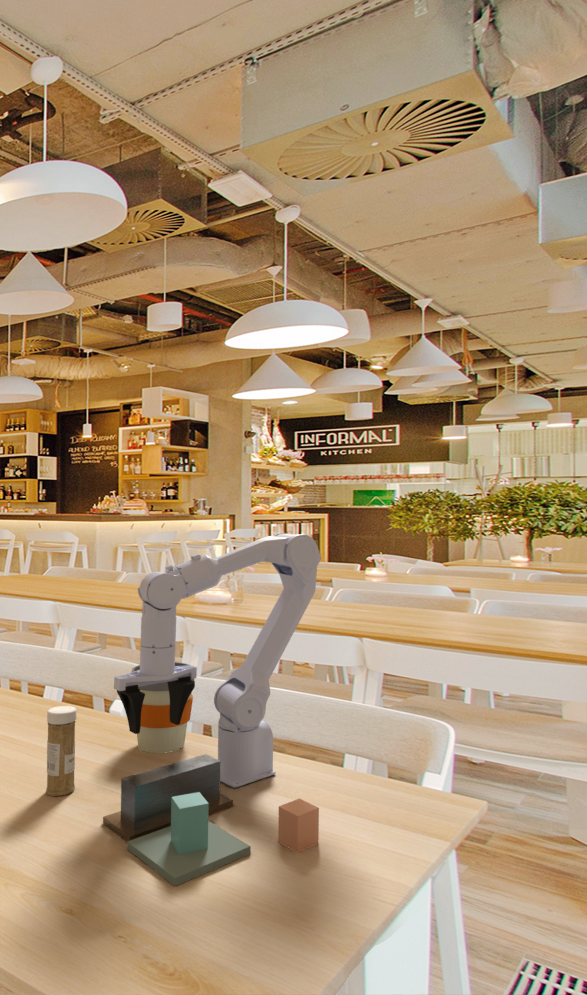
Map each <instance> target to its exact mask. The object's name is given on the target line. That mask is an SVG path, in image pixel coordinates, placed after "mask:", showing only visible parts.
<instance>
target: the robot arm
mask: <svg viewBox="0 0 587 995" xmlns="http://www.w3.org/2000/svg"><path fill="white" fill-rule="evenodd" d="M321 560H322V556H321V554H320V550H319V547H318V545H317V542H316V541H315V539H314V538H313V537H312V536H310V535H309V534H308V535H307V534H291V533H289V534H288V533H286V532H278V533H276V534H274V535H269V536H264V537H261V538H259V539H257V540H254V541H252V542H249V543H248V544H247V543H246V544H245V545H243V546H241V547H238V548H236V549H233V550H231V551H229V552H226V553H224V554H222V555H220V556H218V557H211V556H210V555H207V554H202V555H201V554H199V553H195V554H193V555H190V559H189V560H186V561H185V562H182V563H179V564H177V565H174V566H173V565H171V564H168V565H165V567H164V569H165V571H164V572H162V571H152V572H150V573H147V574H146V575H145V576H144V578H142V580H141V582H140V584H139V587H138V588H137V594H138V597H139V598H140V599H141V601H142V606H141V609H142V610H141V617H140V618H141V620H140V623H141V624H140V644H139V646H140V648H139V649H140V651H139V652H140V653H139V665H140V670H139V671H135V672H132V671H131V672H128V673H125V674H121V675H117V676H114V678H113V679H114V680H113V683H114V684H113V689H114V690H116V694H117V695H118V697H119V699H120V700H121V702H122V706H123V708H124V711H125V714H126V718H127V722H128V727H129V732H131V733H133V734H135V735H137V734H138V733H140V727H141V710H142V705H143V700H144V697H145V693H143V692H140V689H138V687H140V686H146V685H152V684H157V683H163V682H167V683H168V689H169V697H170V714H169V716H170V722H171V723H173V724H176V725H179V724H180V721H181V717H182V714H183V711H184V708H185V705H186V702H187V700H188V698H189V696H190V694H191V692H193V690H195V687H196V684H195V683H196V681H195V679H197V670H198V667H197V666H195V665H192V664H189V665H186V666H175V662H176V643H177V642H176V641H177V640H176V639H177V638H176V637H177V606H178V604H179V603H180V602H181V600H183V599H187V598H189V597H192V596H195V595H196V594H199V593H202V592H204V591H206V590H208V589H212V588H213V587H214V588H215V587H216V586H217V585H218V584H219V582H220V580H221V578H222V576H224V575H228V574H230V573H233V572H236V571H239V570H242V569H244V568H247V567H250V566H254V565H256V564H259V563H261V562H262V563H263V562H265V563H271V565H272V566H273V568H274V570H276V571H277V573H278V575H279V577H280V580H281V584H282V587H283V590H282V591H281V593H280V594H279V597H278V598H277V600H276V602H275V604H274V606H273V607H272V609H271V611H270V613H269V615H268V617H267V619H266V620H265V623H264V625H263V626H262V628H261V630H260V632H259V633H258V635H257V637H256V639H255V641H254V643H253V645H252V646H251V648H250V650H249V652H248V654H247V656H246V657H245V660H244V661H243V663H242V665H240V666H239V667H237V668H236V669H235V670H233V671H232V672H231V673H230V675H229V676H228V678H227V679H226V680H225V681H224V682H223V683H221V684H220V685H219V686H218V687H217V689H216V691H215V693H214V697H213V705H214V708H215V709H216V711H217V713H219V718H218V726H217V727H218V729H217V731H218V732H217V760H219V761H220V783H223V784H225V785H227V786H229V787H230V788H234V789H235V788H238V787H242V786H244V785H248V784H251V783H253V782H256V781H259V780H262V779H266V778H268V777H271V776H273V775H276V770H274V769H273V768H274V734H273V731H272V728H271V726H270V724H269V723H268V722H267V721H265V720H264V718H265V716H266V709H267V702H268V699H269V697H270V696H271V687H270V678H271V676H272V674H273V673H274V671H275V669H276V667H277V665H278V664H279V661H280V659H281V657H282V656H283V654H284V652H285V650H286V648H287V646H288V644H289V642H290V641H291V638H292V636H293V635H294V633H295V631H296V629H297V627H298V625H299V623H300V622H301V621H302V620H301V619H302V618H303V617H304V614H305V612H306V610H307V609H308V607H309V605H310V602H311V600H312V599H313V597H314V595H315V593H316V589H317V588H316V587H317V572H318V566H319V564H320V562H321ZM191 679H194V681H195V682H194V681H192V680H191Z"/></svg>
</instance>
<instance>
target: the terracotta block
mask: <svg viewBox="0 0 587 995" xmlns="http://www.w3.org/2000/svg"><path fill="white" fill-rule="evenodd" d="M319 818H320V808H319V807H318V806H316V805H314V804H312V803H310V802H308V801H305V800H304V799H301V798H297V799H295V800H292V801H289V802H287V803H284V804H281V805H279V806H278V831H277V832H278V836H277V838H278V839H277V840H278V841H277V842H278V843H280V844H281V845H283V846H284V847H286V848H288V849H290V850H291V851H294V852H295V853H297V854H298V853H300V852H302V851H304V850H307V849H309V848H311V847H314V846H315V845H316V846H317V845H319V837H320V836H319V833H320V832H319V829H320V828H319V826H320V824H319V821H320V820H319Z"/></svg>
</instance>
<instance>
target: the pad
mask: <svg viewBox="0 0 587 995" xmlns="http://www.w3.org/2000/svg"><path fill="white" fill-rule="evenodd" d="M126 850H127V851H129V852H130V853H132V854H133V855H134V856H135V857H137V858H138V859H139V860H141V861H142V862H143V863H144V864H146V865H147V866H148V867H150V869H152V870H153V871H155V872H156V873H157V874H158V875H160V876H161V877H162V878H164V880H166V881H167V882H169V883H170V884H171V885H173V886H175V887H177V886H178V885H181V884H183V883H186V882H187V881H190V880H192V879H194V878H197V877H199V876H202V875H204V874H207V873H209V872H210V871H213V870H215V869H218V868H220V867H222V866H225V865H227V864H230V863H232V862H234V861H237V860H238V859H242V858H243V857H247V856H248V855H250V854H251V845H250V844H248V843H247V842H245V841H243V840H241V839H240V838H238V837H236V836H235V835H233V834H231V833H230V832H228V831H226V830H225V829H223V828H221V827H220V826H218V825H217V824H215V823H213V822H211V821H210V820H208V848H207V849H203V850H198V851H193V852H189V853H184V854H180V855H179V854H178V852H177V851H176V849H175V847H174V846H173V844H172V842H171V826H169V827H167V828H164V829H161V830H158V831H155V832H153V833H150V834H147V835H144V836H141V837H139V838H136V839H133V840H130V841H128V842H127V841H126Z"/></svg>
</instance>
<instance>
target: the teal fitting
mask: <svg viewBox="0 0 587 995" xmlns="http://www.w3.org/2000/svg"><path fill="white" fill-rule="evenodd" d="M208 810H209V803H208V802H207V801H206V800H205V798H204V797H203V796H202V795H201V793H200V792H197V793H191V794H185V795H180V796H174V797H171V842H172V844H173V846H174V847H175V849H176V851H177V852H178V854H179V855H180V854H184V853H189V852H193V851H198V850H203V849H207V848H208V821H209V815H208Z"/></svg>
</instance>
